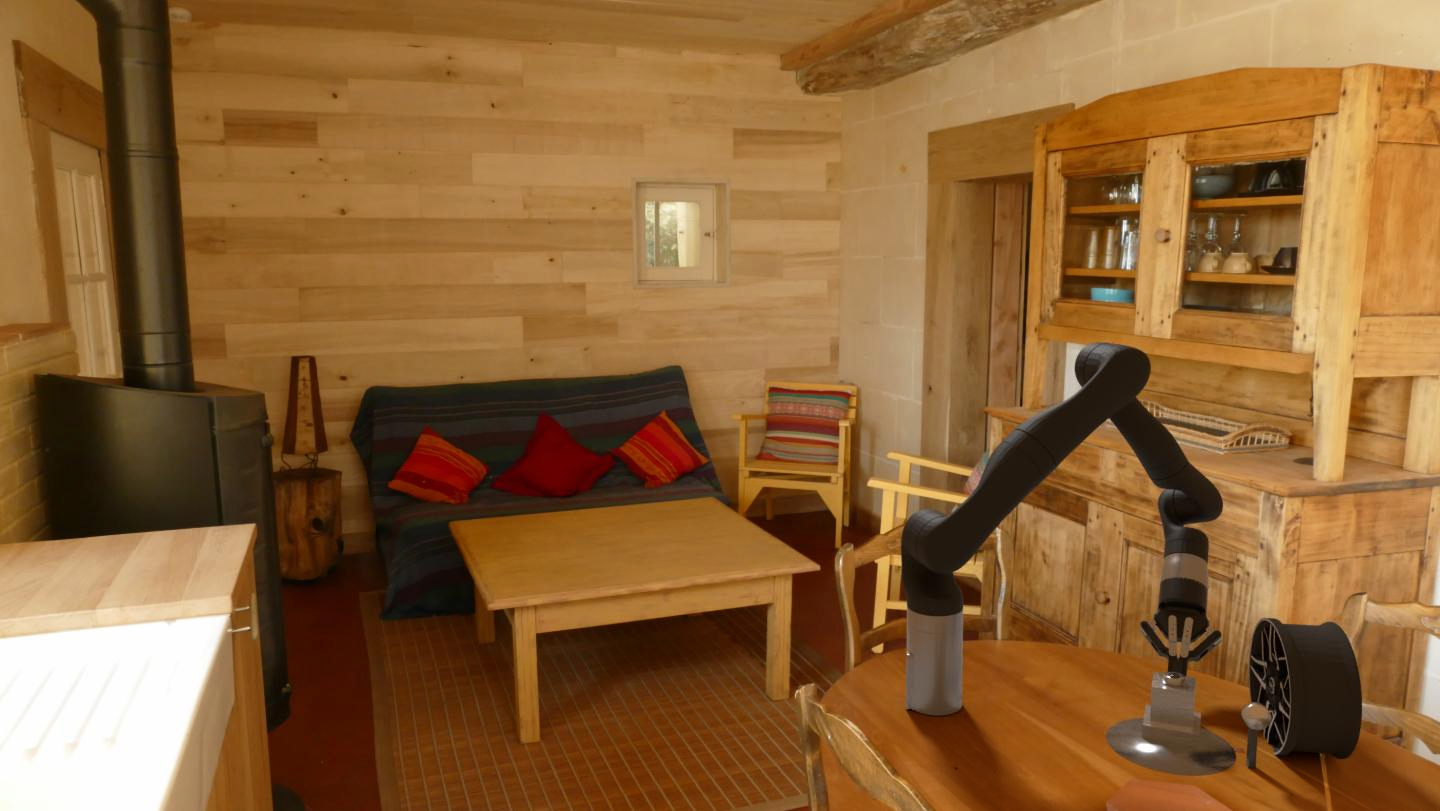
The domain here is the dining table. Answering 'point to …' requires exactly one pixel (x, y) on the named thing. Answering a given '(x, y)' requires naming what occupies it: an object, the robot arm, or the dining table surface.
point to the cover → (1172, 710)
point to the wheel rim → (1306, 687)
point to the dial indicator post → (1254, 728)
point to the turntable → (1171, 750)
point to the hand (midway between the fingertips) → (1176, 681)
